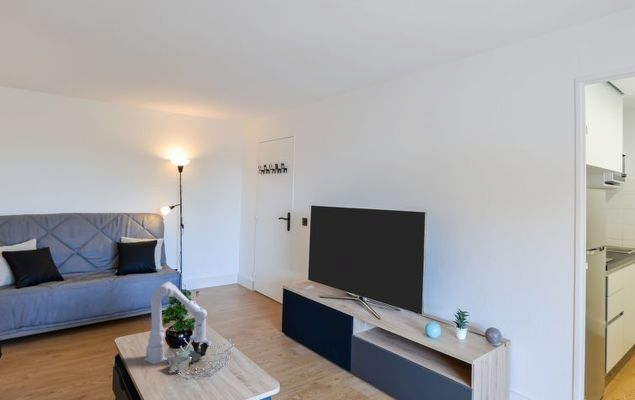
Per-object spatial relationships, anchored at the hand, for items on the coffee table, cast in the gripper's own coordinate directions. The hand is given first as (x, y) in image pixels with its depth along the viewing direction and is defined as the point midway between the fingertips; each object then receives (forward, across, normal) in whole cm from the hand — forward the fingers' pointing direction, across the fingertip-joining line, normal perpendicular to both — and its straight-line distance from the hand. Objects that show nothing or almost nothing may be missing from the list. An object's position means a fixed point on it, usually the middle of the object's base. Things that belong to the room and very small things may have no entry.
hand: (199, 354), depth 202 cm
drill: (+2, 0, -2) cm, 3 cm away
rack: (+3, -8, -4) cm, 10 cm away
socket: (+3, -1, -14) cm, 14 cm away
